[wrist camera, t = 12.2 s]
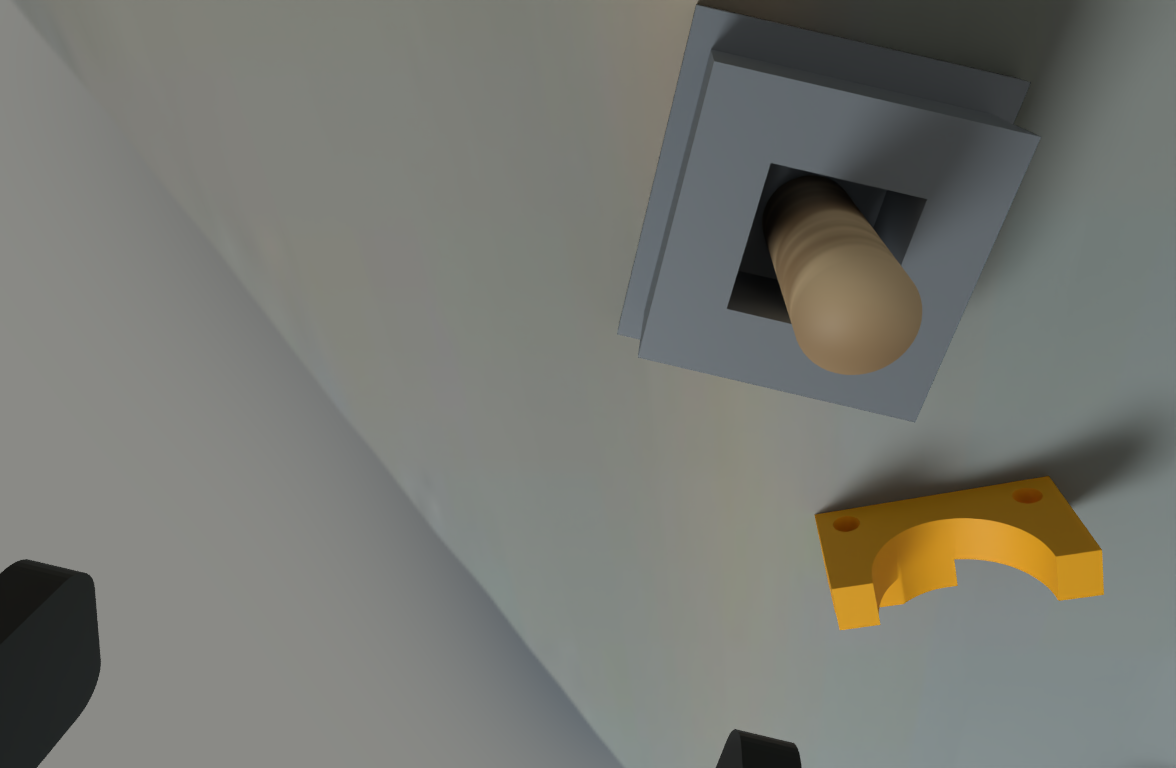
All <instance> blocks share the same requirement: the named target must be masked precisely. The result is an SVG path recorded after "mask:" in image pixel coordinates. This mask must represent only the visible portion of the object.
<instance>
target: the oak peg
mask: <svg viewBox="0 0 1176 768" xmlns="http://www.w3.org/2000/svg"><path fill="white" fill-rule="evenodd" d="M762 228H763V233H764V237H765V240H766V243H767V246H768V250H769V253H770V256H771V259H772V262H773V266H774V269H775V272H776V275H777V278H778V282H779V285H780V288H781V291H782V295H783V298H784V301H785V304H786V307H787V311H788V314H789V317H790V320H791V323H792V327H793V330H794V333H795V336H796V340H797V342H798V344H799V346H800V348H801V349H802V351H803V353H804V354H805V355H806V356H807V357H808V358H809V359H810V360H811V361H812V362H813V363H815V364H816V365H818V366H819V367H821V368H823V369H825V370H827V371H830V372H834V373H838V374H843V375H860V374H866V373H870V372H874V371H877V370H879V369H882V368H884V367H886V366H888V365H890V364H891V363H893V362H894V361H896V360H897V359H898V358H899V357H900V356H902V355H903V354H904V353H905V352H906V351H907V349H908V348H909V347H910V346H911V344H912V343H913V341H914V340H915V338H916V336H917V334H918V331H919V328H920V325H921V321H922V302H921V297H920V294H919V292H918V289H917V288H916V286H915V284H914V282H913V281H912V280H911V278H910V277H909V276H908V274H907V273H906V272H905V270H904V269H903V268H902V266H901V265H900V264H899V262H898V261H897V260H896V258H895V257H894V256H893V254H892V253H891V252H890V250H889V249H888V248H887V246H886V245H885V244H884V242H883V241H882V240H881V238H880V237H879V236H878V234H877V233H876V232H875V230H874V229H873V228H872V226H871V225H870V224H869V222H868V221H867V220H866V218H865V217H864V216H863V214H862V213H861V211H860V210H859V209H858V207H857V206H856V205H855V203H854V202H853V201H852V199H851V198H850V197H849V195H848V194H847V193H846V192H845V190H844V189H843V188H842V187H841V186H840V185H839V184H837V183H836V182H834V181H833V180H830V179H828V178H825V177H822V176H814V175H809V176H802V177H798V178H795V179H792V180H790V181H788V182H786V183H785V184H783V185H782V186H781V187H779V188H778V189H777V190H776V191H775V192H774V193H773V194H772V196H771V197H770V199H769V200H768V202H767V204H766V206H765V209H764V213H763V218H762Z"/></svg>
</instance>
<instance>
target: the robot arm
mask: <svg viewBox="0 0 1176 768" xmlns="http://www.w3.org/2000/svg"><path fill="white" fill-rule="evenodd" d="M100 666H101V659H100V647H99V635H98V622H97V610H96V598H95V587H94V582H93V579H92V578H91V576H90V575H88V574H87V573H83V572H79V571H74V570H70V569H66V568H62V567H57V566H53V565H49V564H45V563H40V562H36V561H32V560H27V559H26V560H20V561H17V562H15V563H14V564H12V565H10V566H9V567H8V568H6V569H5V570H4V571H3V572H2V573H1V574H0V768H37V767H38V765H39V764H40V763H41V762H42V761H43V759H44V758H45V757H46V756H47V754H48V753H49V752H50V751H51V750H52V748H53V747H54V746H55V745H56V743H57V742H58V741H59V740H60V739H61V738H62V736H63V735H64V734H65V733H66V731H67V730H68V729H69V728H70V726H71V725H72V724H73V723H74V722H75V720H76V719H77V718H78V717H79V716H80V714H81V713H82V711H83V710H84V708H85V707H86V705H87V703H88V702H89V700H90V698H91V696H92V694H93V692H94V689H95V686H96V684H97V681H98V677H99V673H100ZM716 768H802V767H801V760H800V755H799V751H798V748H797V746H796V745H795V744H794V743H791V742H787V741H783V740H779V739H774V738H770V737H766V736H762V735H757V734H753V733H749V732H745V731H741V730H736V729H734V730H733V731H732V732H731V733H730V735H729V737H728V739H727V741H726V744H725V746H724V749H723V751H722V754H721V756H720V759H719V761H718V764H717V766H716Z"/></svg>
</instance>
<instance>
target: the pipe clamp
mask: <svg viewBox="0 0 1176 768" xmlns="http://www.w3.org/2000/svg"><path fill="white" fill-rule="evenodd" d="M815 520H816V524H817V529H818V534H819V539H820V544H821V549H822V554H823V559H824V564H825V569H826V574H827V578H828V583H829V587H830V592H831V596H832V600H833V605H834V609H835V613H836V615H837V620H838V624H839V628H840V630H845V629H852V628H860V627H867V626H875V625H880V620H879V607H885V606H892V605H899V604H904V603H906V602H907V601H909V600H910V599H912V598H914V597H916V596H918V595H920V594H923V593H925V592H928V591H931V590H935V589H939V588H944V587H951V586H957V578H956V570H955V562H954V559H978V560H987V561H992V562H997V563H1001V564H1005V565H1008V566H1012V567H1014V568H1017V569H1019V570H1022V571H1024V572H1026V573H1028V574H1030V575H1032V576H1033V577H1035V578H1037V579H1038V580H1039V581H1041V582H1042V583H1043V584H1045V585H1046V586H1047V587H1048V588H1049V589H1050V590H1051V591H1052V592H1053V593H1054V594H1055V596H1056V597H1057V599H1058V600H1059V601H1060V600H1068V599H1075V598H1083V597H1090V596H1098V595H1104V588H1103V563H1102V549H1101V548H1100V547H1099V545H1098V544H1097V542H1096V541H1095V540H1094V538H1093V537H1092V535H1091V534H1090V533H1089V531H1088V530H1087V528H1086V527H1085V526H1084V524H1083V523H1082V521H1081V520H1080V519H1079V517H1078V516H1077V515H1076V513H1075V512H1074V510H1073V509H1072V508H1071V506H1070V505H1069V503H1068V502H1067V501H1066V499H1065V498H1064V496H1063V495H1062V494H1061V492H1060V491H1059V489H1058V488H1057V487H1056V485H1055V484H1054V483H1053V481H1052V480H1051V478H1050V477H1049V476H1046V477H1040V478H1033V479H1027V480H1021V481H1015V482H1009V483H1003V484H997V485H991V486H985V487H979V488H973V489H967V490H961V491H955V492H949V493H943V494H937V495H931V496H925V497H918V498H912V499H906V500H900V501H894V502H888V503H882V504H876V505H870V506H864V507H858V508H852V509H846V510H840V511H834V512H828V513H822V514H816V515H815Z"/></svg>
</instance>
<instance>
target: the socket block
mask: <svg viewBox="0 0 1176 768" xmlns="http://www.w3.org/2000/svg"><path fill="white" fill-rule="evenodd" d="M1030 84H1031V82H1028V81H1025V80H1022V79H1018V78H1014V77H1010V76H1006V75H1001V74H997V73H993V72H988V71H984V70H980V69H975V68H971V67H967V66H962V65H958V64H954V63H949V62H945V61H941V60H936V59H932V58H928V57H923V56H919V55H915V54H910V53H906V52H902V51H897V50H893V49H889V48H885V47H880V46H876V45H872V44H867V43H863V42H859V41H854V40H850V39H846V38H841V37H837V36H833V35H828V34H824V33H820V32H815V31H811V30H807V29H802V28H798V27H794V26H789V25H785V24H781V23H776V22H772V21H768V20H763V19H759V18H755V17H750V16H746V15H742V14H738V13H733V12H729V11H725V10H720V9H716V8H712V7H707V6H703V5H699V4H696V8H695V12H694V16H693V20H692V24H691V29H690V33H689V37H688V41H687V45H686V49H685V53H684V58H683V62H682V66H681V70H680V74H679V78H678V82H677V87H676V91H675V95H674V99H673V103H672V107H671V111H670V116H669V120H668V124H667V128H666V132H665V136H664V140H663V145H662V149H661V153H660V157H659V161H658V165H657V169H656V174H655V178H654V182H653V186H652V190H651V194H650V198H649V203H648V207H647V211H646V215H645V219H644V223H643V227H642V232H641V236H640V240H639V244H638V248H637V252H636V256H635V261H634V265H633V269H632V273H631V277H630V281H629V285H628V290H627V294H626V298H625V302H624V306H623V310H622V314H621V319H620V323H619V328H618V333H617V334H619V335H623V336H627V337H631V338H636V339H640V346H639V353H638V358H643V359H647V360H651V361H655V362H660V363H664V364H668V365H672V366H677V367H681V368H685V369H689V370H694V371H698V372H702V373H707V374H711V375H715V376H719V377H724V378H728V379H732V380H736V381H741V382H745V383H749V384H753V385H758V386H762V387H766V388H771V389H775V390H779V391H783V392H788V393H792V394H796V395H800V396H805V397H809V398H813V399H818V400H822V401H826V402H830V403H835V404H839V405H843V406H847V407H852V408H856V409H860V410H864V411H869V412H873V413H877V414H882V415H886V416H890V417H894V418H899V419H903V420H907V421H911V422H915V421H916V419H917V417H918V415H919V412H920V410H921V408H922V406H923V403H924V401H925V399H926V397H927V394H928V392H929V390H930V388H931V385H932V383H933V381H934V378H935V376H936V374H937V372H938V369H939V367H940V365H941V363H942V360H943V358H944V356H945V354H946V351H947V349H948V347H949V345H950V342H951V340H952V338H953V335H954V333H955V331H956V329H957V326H958V324H959V322H960V320H961V317H962V315H963V313H964V311H965V308H966V306H967V304H968V302H969V299H970V297H971V295H972V292H973V290H974V288H975V286H976V283H977V281H978V279H979V277H980V274H981V272H982V270H983V268H984V265H985V263H986V261H987V259H988V256H989V254H990V252H991V249H992V247H993V245H994V243H995V240H996V238H997V236H998V234H999V231H1000V229H1001V227H1002V225H1003V222H1004V220H1005V218H1006V216H1007V213H1008V211H1009V209H1010V206H1011V204H1012V202H1013V200H1014V197H1015V195H1016V193H1017V191H1018V188H1019V186H1020V184H1021V182H1022V179H1023V177H1024V175H1025V173H1026V170H1027V168H1028V166H1029V163H1030V161H1031V159H1032V157H1033V154H1034V152H1035V150H1036V148H1037V145H1038V143H1039V141H1040V139H1041V137H1040V136H1038V135H1036V134H1034V133H1032V132H1029V131H1027V130H1025V129H1023V128H1021V127H1019V126H1016V125H1014V121H1015V119H1016V117H1017V114H1018V112H1019V110H1020V107H1021V105H1022V103H1023V100H1024V98H1025V95H1026V93H1027V91H1028V88H1029V86H1030ZM809 175H814V176H822V177H825V178H828V179H830V180H833V181H834V182H836V183H837V184H839V185H840V186H841V187H842V188H843V189H844V190H845V192H846V193H847V194H848V195H849V197H850V198H851V199H852V201H853V202H854V203H855V205H856V206H857V207H858V209H859V210H860V211H861V213H862V214H863V216H864V217H865V218H866V220H867V221H868V222H869V224H870V225H871V226H872V228H873V229H874V230H875V232H876V233H877V234H878V236H879V237H880V238H881V240H882V241H883V242H884V244H885V245H886V246H887V248H888V249H889V250H890V252H891V253H892V254H893V256H894V257H895V258H896V260H897V261H898V262H899V264H900V265H901V266H902V268H903V269H904V270H905V272H906V273H907V274H908V276H909V277H910V278H911V280H912V281H913V282H914V284H915V286H916V288H917V289H918V292H919V294H920V297H921V302H922V321H921V325H920V328H919V331H918V334H917V336H916V338H915V340H914V341H913V343H912V344H911V346H910V347H909V348H908V349H907V351H906V352H905V353H904V354H903V355H902V356H900V357H899V358H898V359H897V360H896V361H894V362H893V363H891V364H890V365H888V366H886V367H884V368H882V369H879V370H877V371H874V372H870V373H866V374H860V375H843V374H838V373H834V372H830V371H827V370H825V369H823V368H821V367H819V366H818V365H816V364H815V363H813V362H812V361H811V360H810V359H809V358H808V357H807V356H806V355H805V354H804V353H803V351H802V349H801V348H800V346H799V344H798V342H797V340H796V336H795V333H794V330H793V327H792V323H791V320H790V317H789V314H788V311H787V307H786V304H785V301H784V298H783V295H782V291H781V288H780V285H779V282H778V278H777V275H776V272H775V269H774V266H773V262H772V259H771V256H770V253H769V250H768V246H767V243H766V240H765V237H764V233H763V228H762V218H763V213H764V209H765V206H766V204H767V202H768V200H769V199H770V197H771V196H772V194H773V193H774V192H775V191H776V190H777V189H778V188H779V187H781V186H782V185H783V184H785V183H786V182H788V181H790V180H792V179H795V178H798V177H802V176H809Z"/></svg>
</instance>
